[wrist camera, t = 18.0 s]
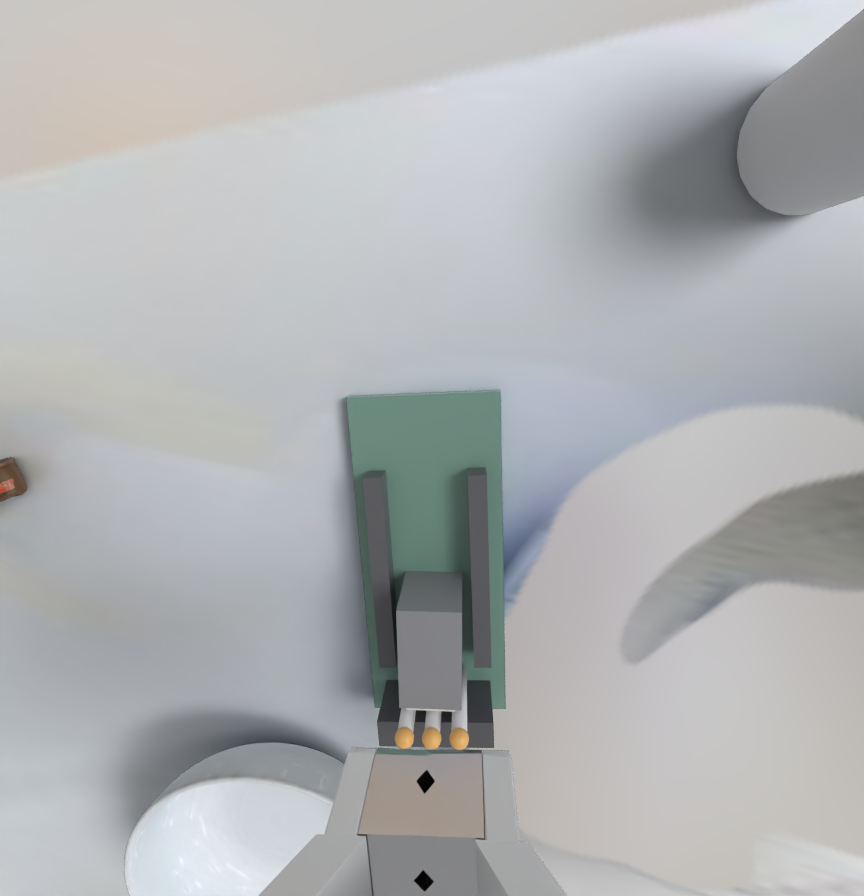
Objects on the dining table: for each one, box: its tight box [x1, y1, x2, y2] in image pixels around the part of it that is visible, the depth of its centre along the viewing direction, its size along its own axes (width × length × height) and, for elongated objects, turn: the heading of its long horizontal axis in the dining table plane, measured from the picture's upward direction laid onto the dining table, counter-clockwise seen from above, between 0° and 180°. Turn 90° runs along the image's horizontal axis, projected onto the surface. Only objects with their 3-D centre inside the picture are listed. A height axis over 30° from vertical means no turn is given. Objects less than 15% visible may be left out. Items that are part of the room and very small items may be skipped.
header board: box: [346, 390, 506, 750], centre depth 31 cm, size 10×24×8 cm, turn 3°
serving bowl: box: [124, 743, 344, 896], centre depth 38 cm, size 21×21×7 cm
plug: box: [396, 571, 462, 712], centre depth 32 cm, size 4×7×5 cm, turn 1°
